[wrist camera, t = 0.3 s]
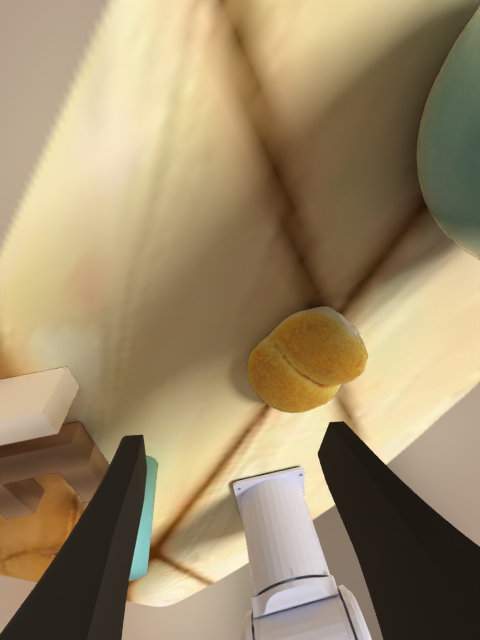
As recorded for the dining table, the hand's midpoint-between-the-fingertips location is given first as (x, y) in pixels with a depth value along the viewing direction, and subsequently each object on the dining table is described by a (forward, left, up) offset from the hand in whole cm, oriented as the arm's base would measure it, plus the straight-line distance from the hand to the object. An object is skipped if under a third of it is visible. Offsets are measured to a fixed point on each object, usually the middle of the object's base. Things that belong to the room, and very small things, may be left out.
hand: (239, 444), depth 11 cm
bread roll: (-5, -6, -10) cm, 13 cm away
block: (-11, +17, -10) cm, 23 cm away
